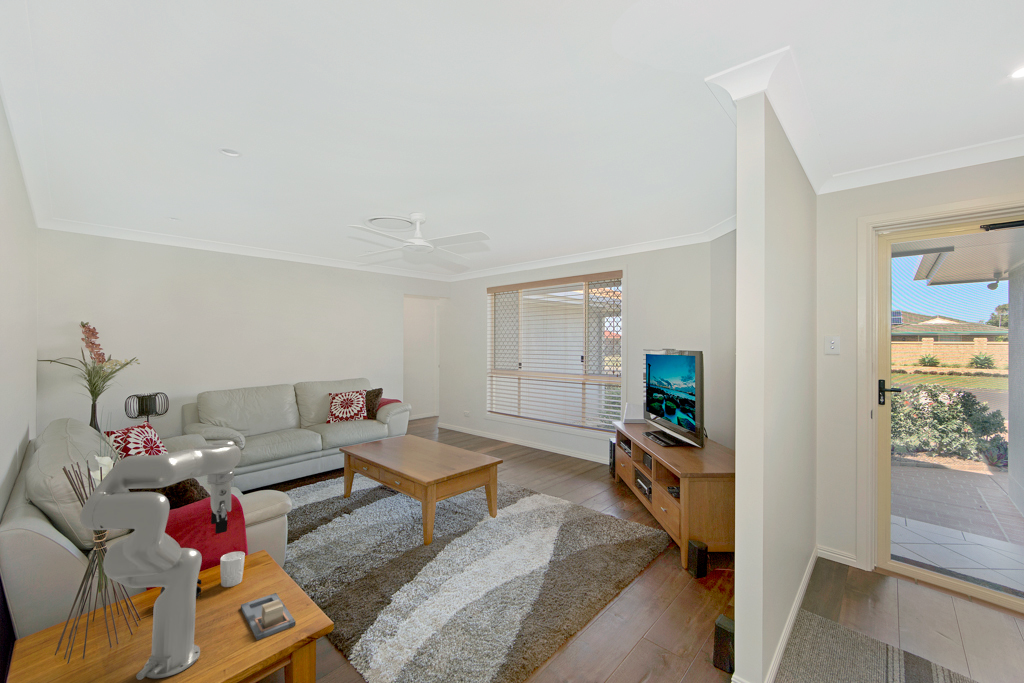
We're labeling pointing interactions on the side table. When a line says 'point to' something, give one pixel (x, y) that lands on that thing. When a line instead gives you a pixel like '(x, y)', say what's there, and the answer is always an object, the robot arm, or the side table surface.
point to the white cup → (232, 568)
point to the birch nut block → (272, 614)
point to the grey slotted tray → (254, 614)
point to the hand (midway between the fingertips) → (218, 527)
